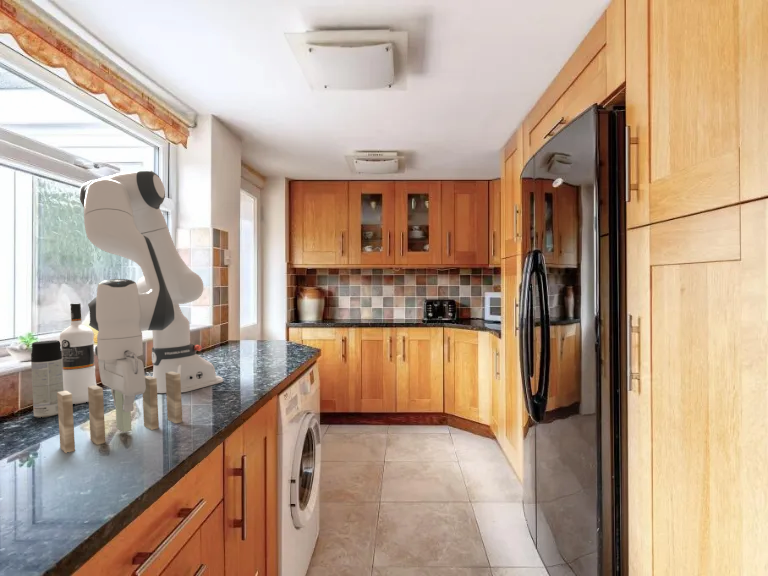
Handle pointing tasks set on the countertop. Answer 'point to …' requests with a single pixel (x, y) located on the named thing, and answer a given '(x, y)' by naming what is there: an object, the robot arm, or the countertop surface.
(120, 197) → the robot arm
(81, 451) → the countertop surface
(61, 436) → the domino
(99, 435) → the brown wooden flat block
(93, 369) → the vodka
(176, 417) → the domino
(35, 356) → the spray can
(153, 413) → the domino
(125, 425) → the domino
